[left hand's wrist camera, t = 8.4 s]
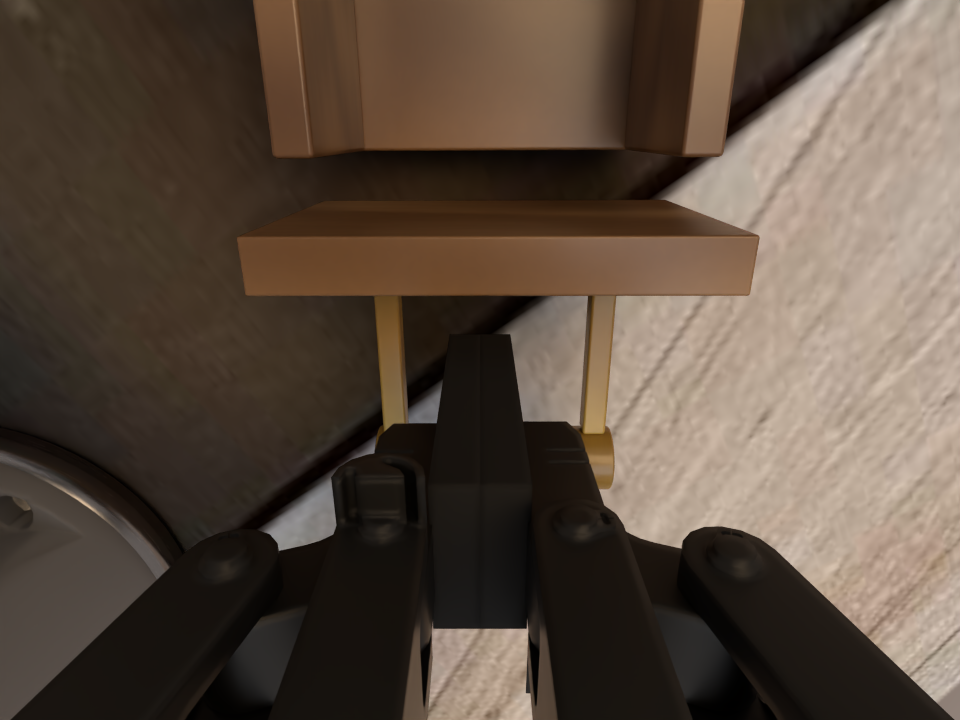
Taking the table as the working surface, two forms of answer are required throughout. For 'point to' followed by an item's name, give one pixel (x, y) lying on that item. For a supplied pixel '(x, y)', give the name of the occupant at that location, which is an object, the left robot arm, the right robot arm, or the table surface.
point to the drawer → (499, 126)
